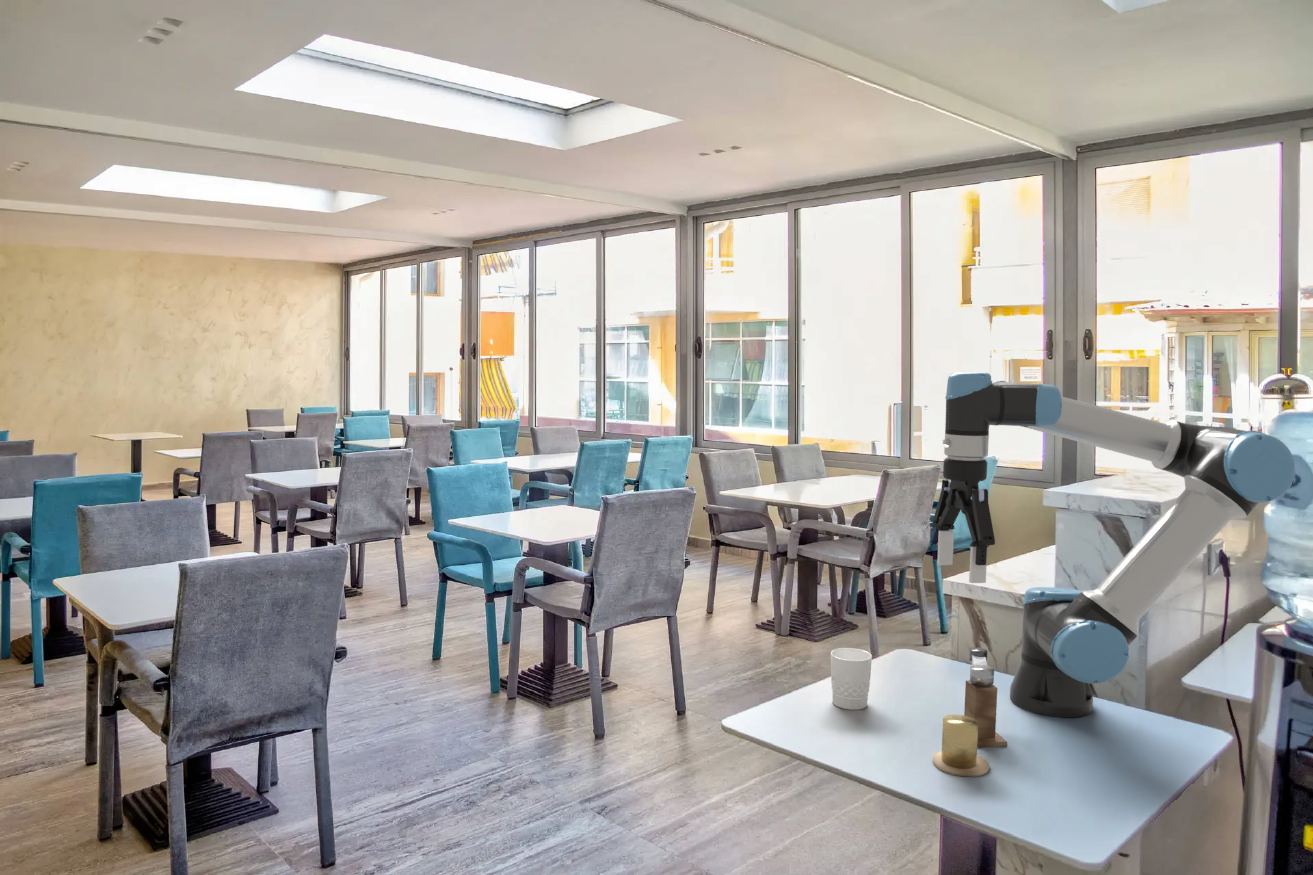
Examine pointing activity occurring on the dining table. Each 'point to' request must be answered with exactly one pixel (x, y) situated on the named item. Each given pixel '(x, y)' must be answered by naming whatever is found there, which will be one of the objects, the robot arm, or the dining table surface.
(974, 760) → the brass cylinder
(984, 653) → the lever
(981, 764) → the coaster
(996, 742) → the post
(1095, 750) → the dining table surface
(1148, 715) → the dining table surface
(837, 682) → the white cup
